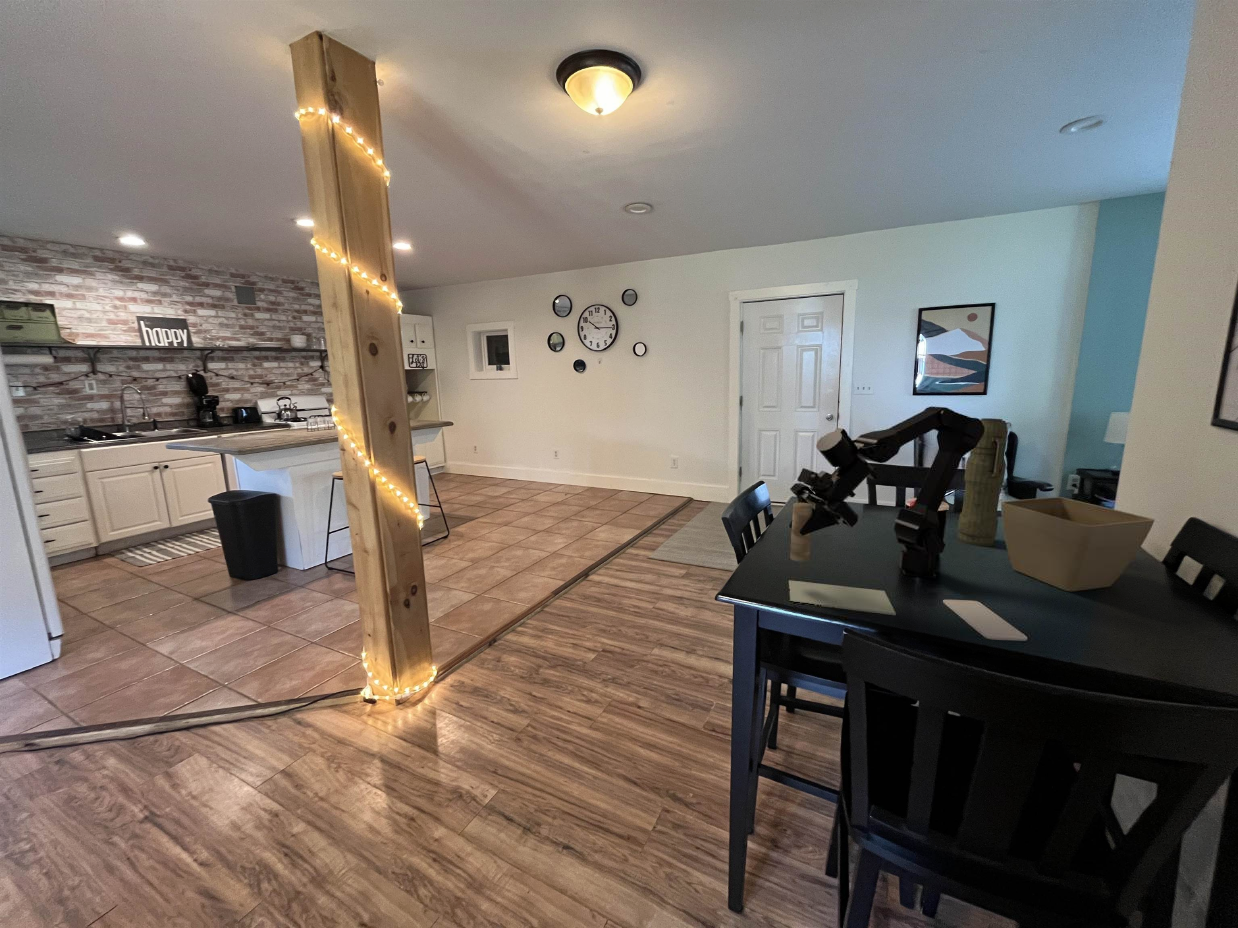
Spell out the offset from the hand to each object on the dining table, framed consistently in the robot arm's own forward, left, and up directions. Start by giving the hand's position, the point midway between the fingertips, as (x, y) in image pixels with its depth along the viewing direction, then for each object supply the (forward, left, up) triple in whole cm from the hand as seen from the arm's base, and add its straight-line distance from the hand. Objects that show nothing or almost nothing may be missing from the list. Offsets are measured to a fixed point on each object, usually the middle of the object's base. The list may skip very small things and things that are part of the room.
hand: (795, 530), depth 106 cm
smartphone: (-35, +4, -14) cm, 38 cm away
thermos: (-51, -47, -14) cm, 71 cm away
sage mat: (-9, +2, -14) cm, 17 cm away
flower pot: (-60, -23, -14) cm, 66 cm away
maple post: (-1, -1, -7) cm, 7 cm away
